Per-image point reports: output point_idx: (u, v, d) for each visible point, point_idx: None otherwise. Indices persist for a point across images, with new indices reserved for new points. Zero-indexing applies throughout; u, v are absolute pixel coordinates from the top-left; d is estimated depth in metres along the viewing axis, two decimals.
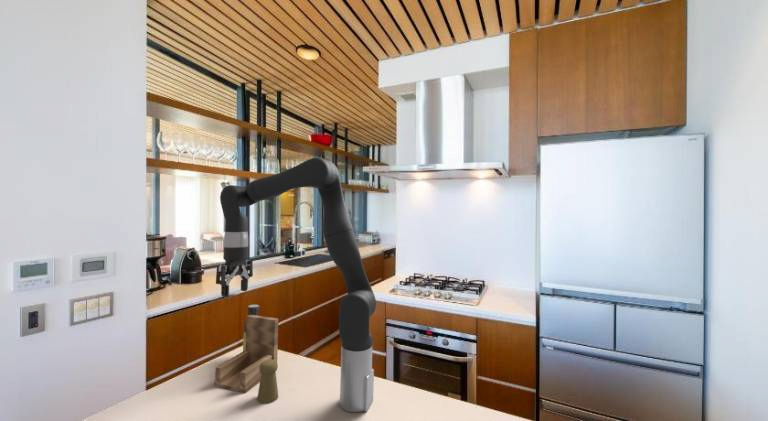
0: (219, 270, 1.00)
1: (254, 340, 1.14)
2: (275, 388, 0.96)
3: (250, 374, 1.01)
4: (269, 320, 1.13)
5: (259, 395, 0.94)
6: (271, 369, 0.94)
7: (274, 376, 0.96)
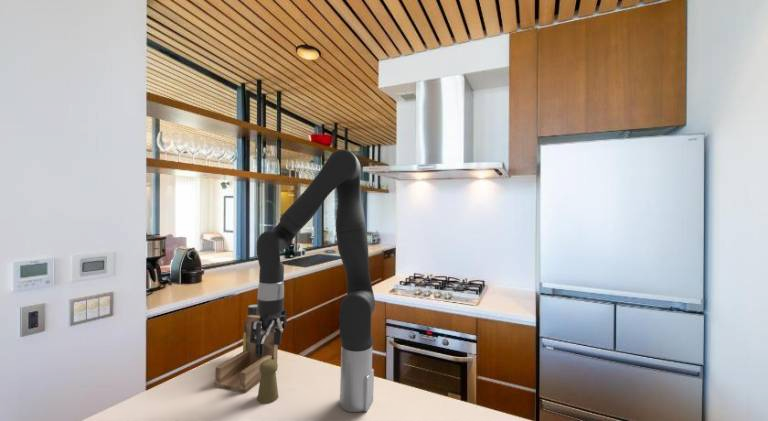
0: (254, 328, 0.90)
1: None
2: (275, 388, 0.96)
3: (250, 374, 1.01)
4: None
5: (259, 395, 0.94)
6: (271, 369, 0.94)
7: (274, 376, 0.96)
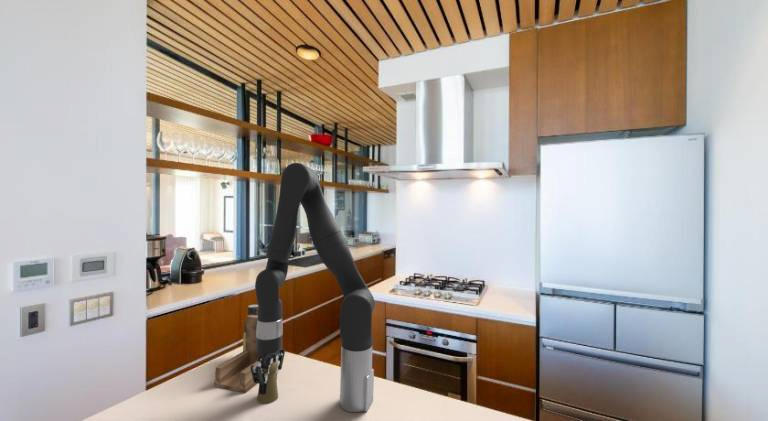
0: (254, 372, 0.90)
1: (254, 340, 1.14)
2: (275, 388, 0.95)
3: (250, 374, 1.01)
4: None
5: (259, 395, 0.94)
6: (271, 370, 0.94)
7: (274, 376, 0.96)
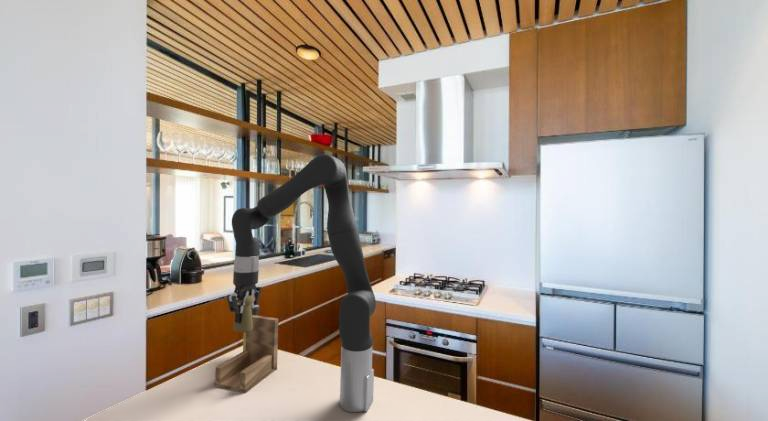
0: (230, 301, 0.98)
1: (254, 340, 1.14)
2: (250, 319, 1.03)
3: (250, 374, 1.01)
4: (269, 320, 1.13)
5: (235, 324, 1.02)
6: (247, 301, 1.02)
7: (249, 308, 1.03)
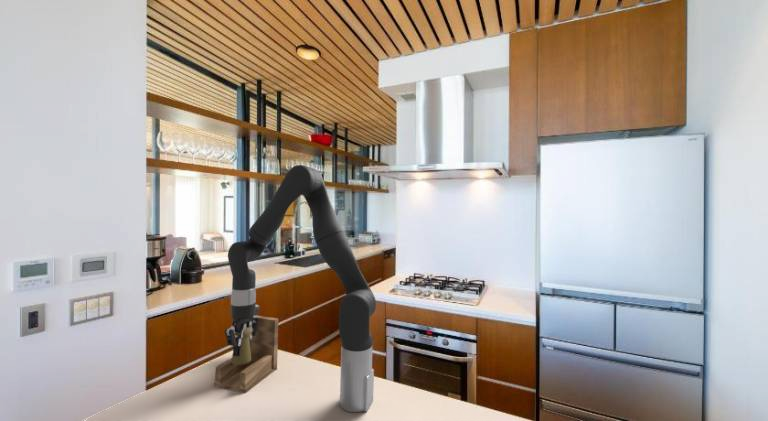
0: (228, 335, 0.99)
1: (254, 340, 1.14)
2: (248, 351, 1.04)
3: (250, 374, 1.01)
4: (269, 320, 1.13)
5: (233, 357, 1.03)
6: (244, 334, 1.03)
7: (247, 340, 1.04)
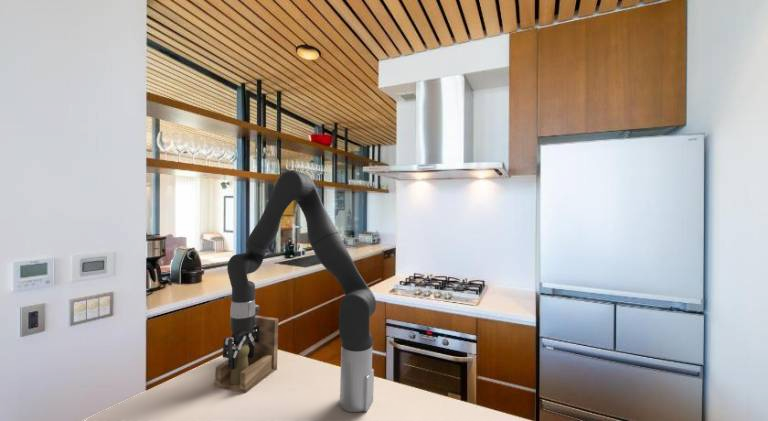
0: (226, 344, 0.98)
1: None
2: None
3: (250, 374, 1.01)
4: (269, 320, 1.13)
5: (231, 377, 1.02)
6: (243, 353, 1.02)
7: (246, 359, 1.04)
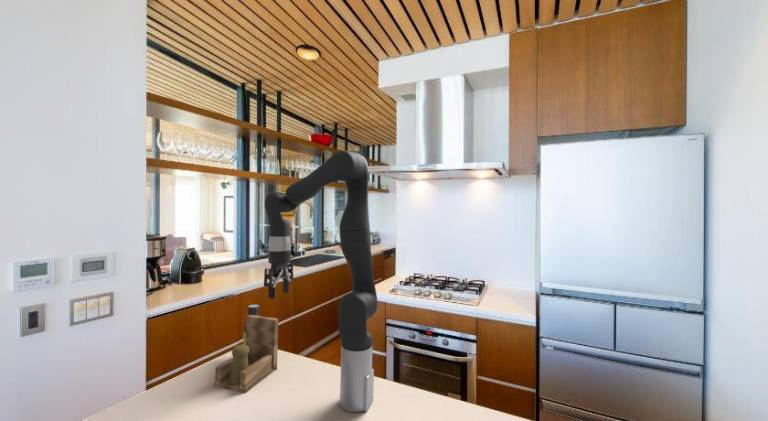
0: (267, 273, 1.05)
1: (254, 340, 1.14)
2: None
3: (250, 374, 1.01)
4: (269, 320, 1.13)
5: (231, 377, 1.02)
6: (243, 353, 1.02)
7: (246, 359, 1.04)
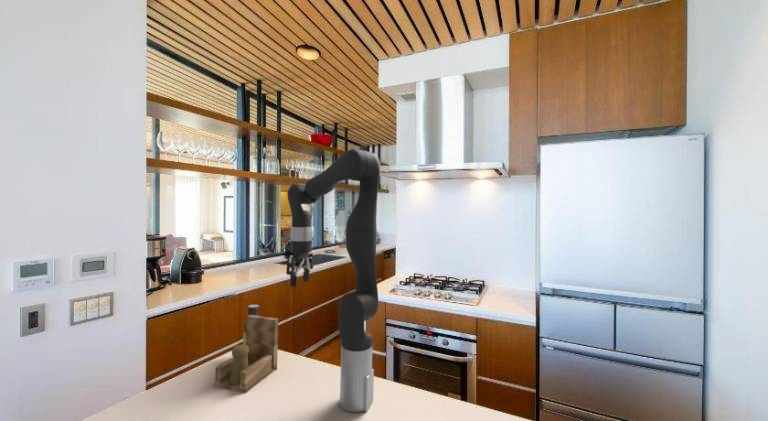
0: (289, 262, 1.10)
1: (254, 340, 1.14)
2: None
3: (250, 374, 1.01)
4: (269, 320, 1.13)
5: (231, 377, 1.02)
6: (243, 353, 1.02)
7: (246, 359, 1.04)
